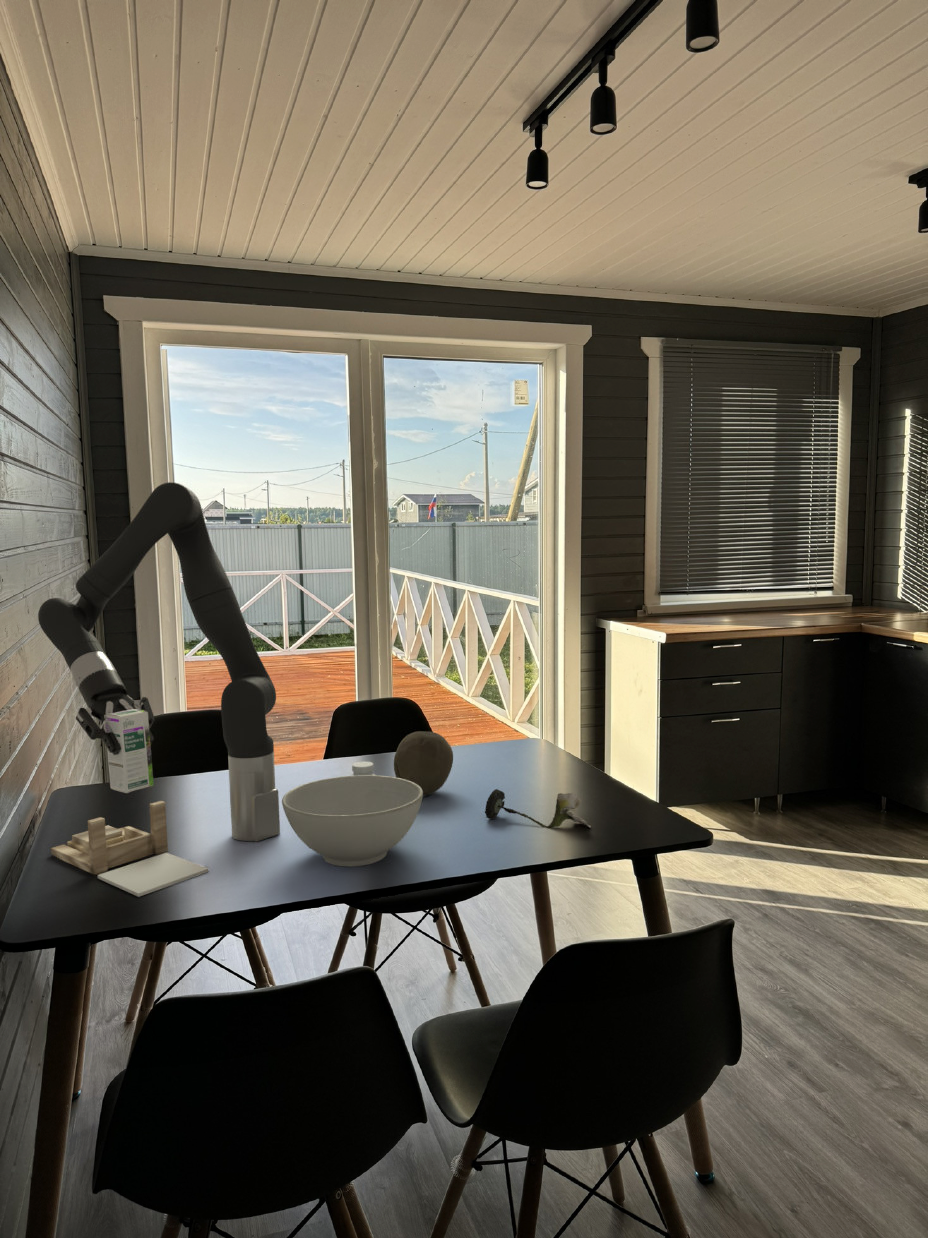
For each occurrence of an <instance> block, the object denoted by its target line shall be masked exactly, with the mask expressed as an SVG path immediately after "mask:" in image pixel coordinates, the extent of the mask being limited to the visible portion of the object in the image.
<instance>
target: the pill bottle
mask: <svg viewBox="0 0 928 1238" xmlns="http://www.w3.org/2000/svg"><path fill="white" fill-rule="evenodd" d="M351 765H352V766H351V770H352V772H353V774H350V776H357V775H376V774H375V773H373V771H374V763H373V762H371V761H357V762H353V763H352V764H351Z"/></svg>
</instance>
